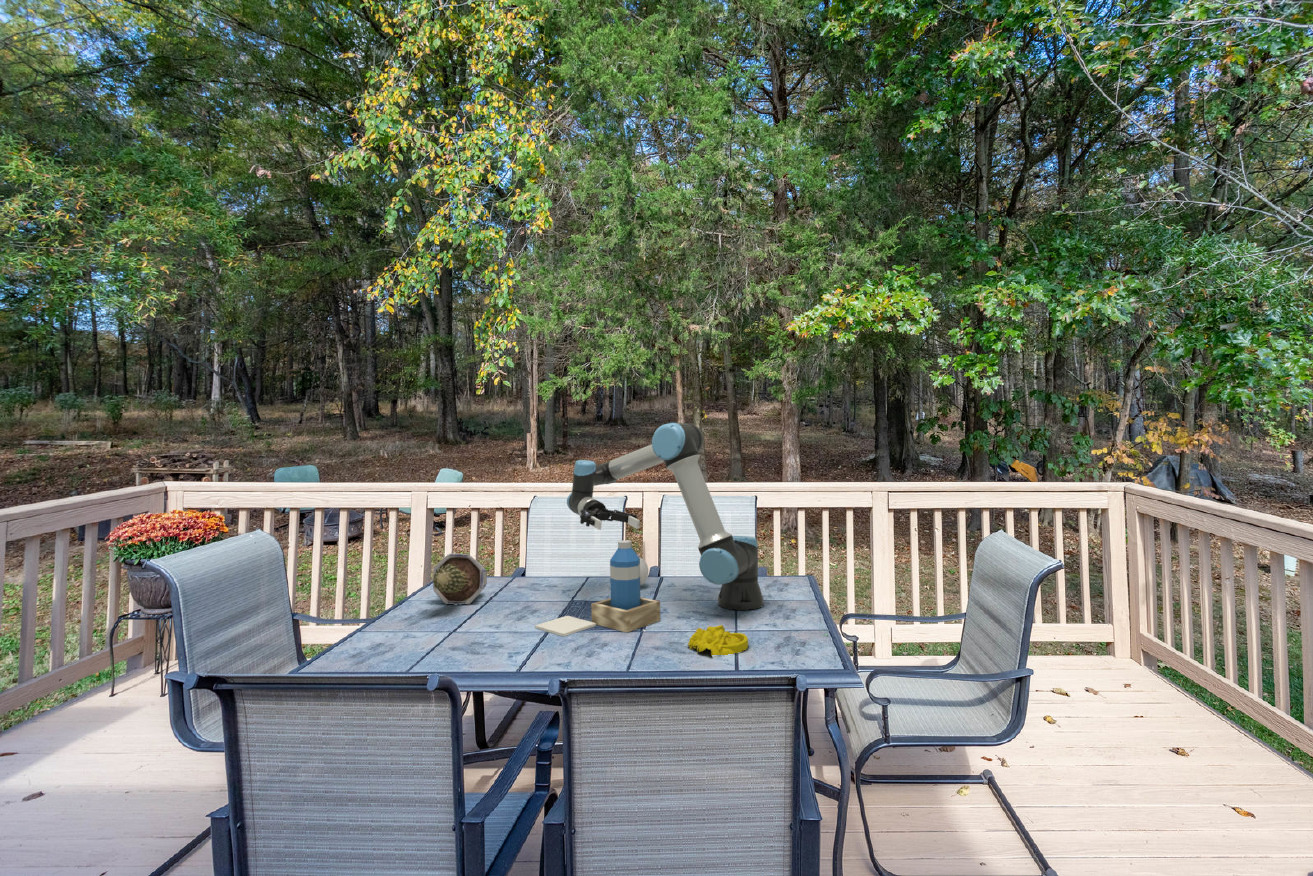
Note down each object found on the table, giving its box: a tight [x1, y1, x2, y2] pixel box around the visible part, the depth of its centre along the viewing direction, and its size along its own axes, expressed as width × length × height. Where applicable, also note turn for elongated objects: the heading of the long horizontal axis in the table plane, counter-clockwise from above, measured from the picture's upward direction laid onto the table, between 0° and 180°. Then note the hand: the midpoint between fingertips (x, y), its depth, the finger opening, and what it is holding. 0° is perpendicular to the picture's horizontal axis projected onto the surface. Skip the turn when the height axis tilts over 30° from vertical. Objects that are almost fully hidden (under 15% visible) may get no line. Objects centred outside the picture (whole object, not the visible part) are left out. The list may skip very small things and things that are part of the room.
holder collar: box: [590, 596, 661, 633], centre depth 203 cm, size 15×15×6 cm
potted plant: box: [432, 553, 488, 605], centre depth 224 cm, size 18×18×30 cm
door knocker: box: [687, 624, 749, 657], centre depth 180 cm, size 16×16×4 cm
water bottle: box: [609, 539, 642, 610], centre depth 202 cm, size 9×9×25 cm
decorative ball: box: [638, 556, 649, 587], centre depth 246 cm, size 12×12×12 cm
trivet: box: [534, 615, 597, 637], centre depth 198 cm, size 13×13×1 cm
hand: (619, 525), depth 208 cm, fingers open, 13 cm apart
